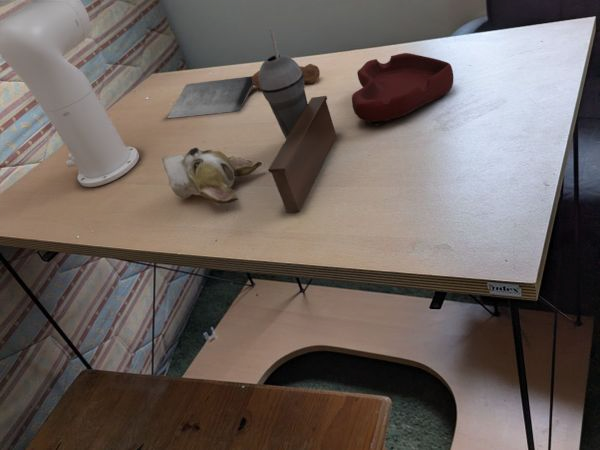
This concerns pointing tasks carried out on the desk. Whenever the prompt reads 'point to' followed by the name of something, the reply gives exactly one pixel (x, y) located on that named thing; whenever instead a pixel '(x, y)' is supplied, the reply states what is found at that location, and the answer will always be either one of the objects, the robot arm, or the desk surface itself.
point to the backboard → (303, 154)
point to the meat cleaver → (223, 94)
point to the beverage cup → (283, 88)
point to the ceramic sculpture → (206, 174)
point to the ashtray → (399, 86)
